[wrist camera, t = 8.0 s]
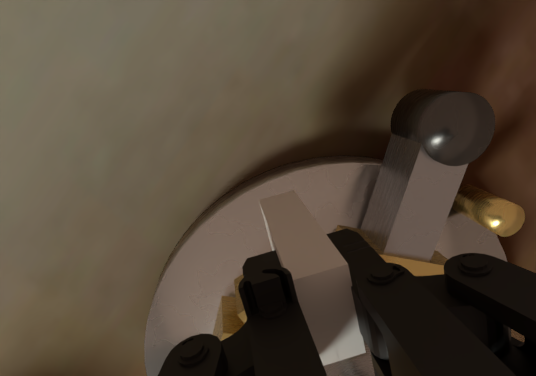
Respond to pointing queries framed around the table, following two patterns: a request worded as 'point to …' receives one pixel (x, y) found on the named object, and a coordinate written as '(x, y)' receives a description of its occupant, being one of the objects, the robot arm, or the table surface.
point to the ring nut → (410, 184)
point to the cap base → (257, 242)
